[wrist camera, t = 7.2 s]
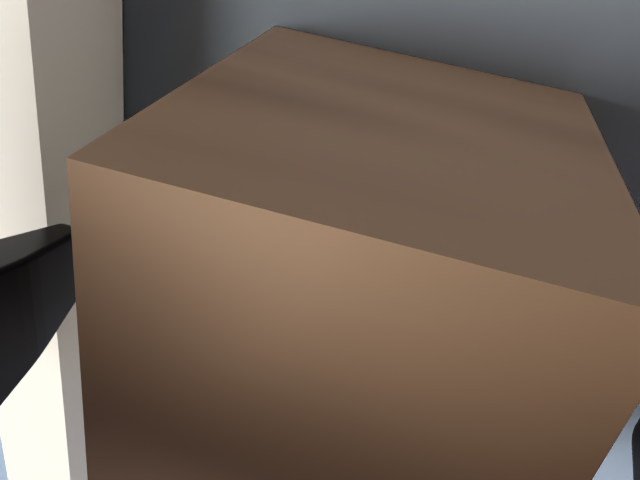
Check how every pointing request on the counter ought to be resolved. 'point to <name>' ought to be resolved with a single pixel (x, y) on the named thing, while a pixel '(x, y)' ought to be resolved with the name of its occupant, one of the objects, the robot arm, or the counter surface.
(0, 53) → the rail
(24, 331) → the robot arm
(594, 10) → the counter surface
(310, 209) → the tea box
